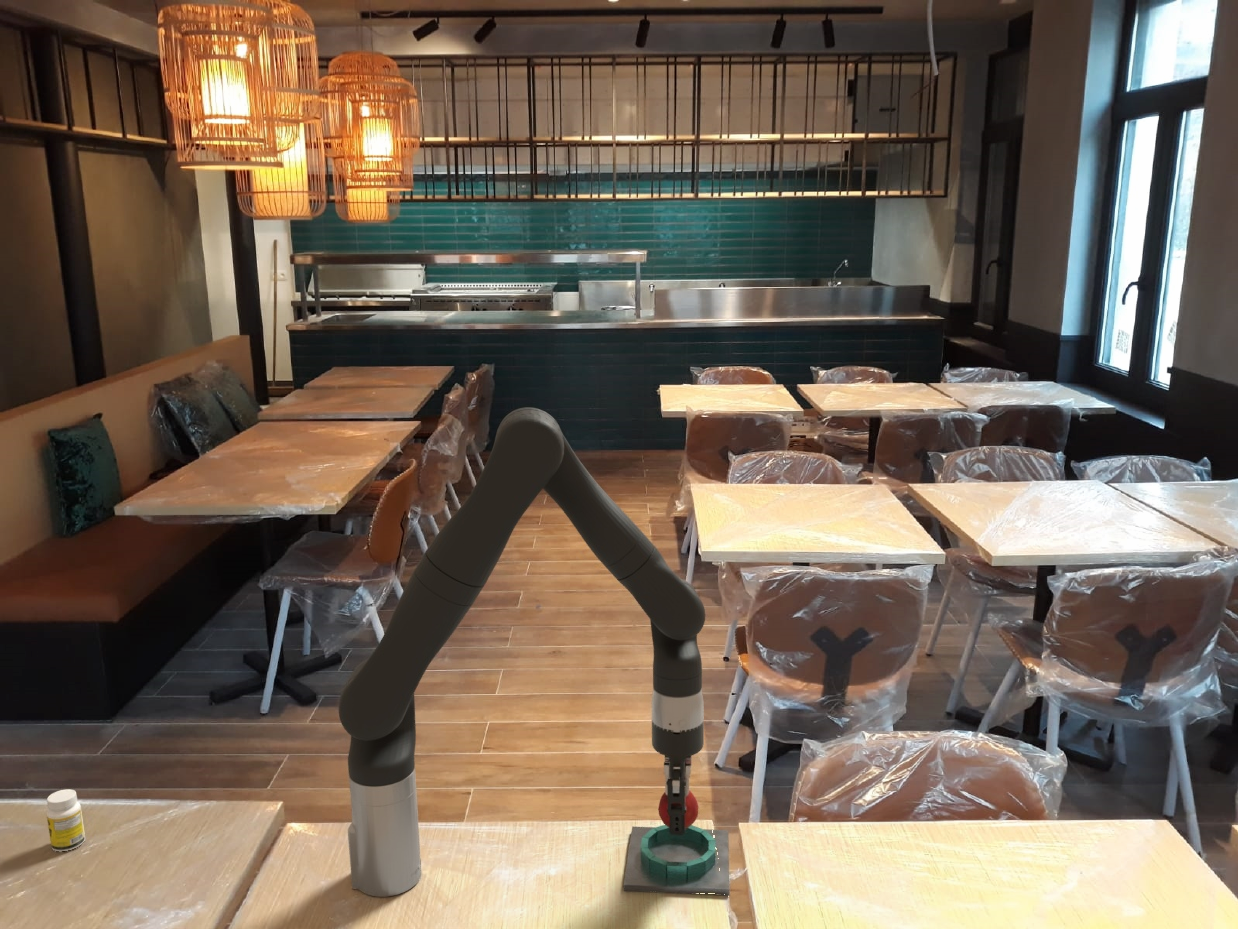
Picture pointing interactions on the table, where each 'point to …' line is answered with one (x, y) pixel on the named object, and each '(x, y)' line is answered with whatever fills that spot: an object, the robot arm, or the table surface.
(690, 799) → the onion
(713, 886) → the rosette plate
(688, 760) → the robot arm
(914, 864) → the table surface
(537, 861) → the table surface
